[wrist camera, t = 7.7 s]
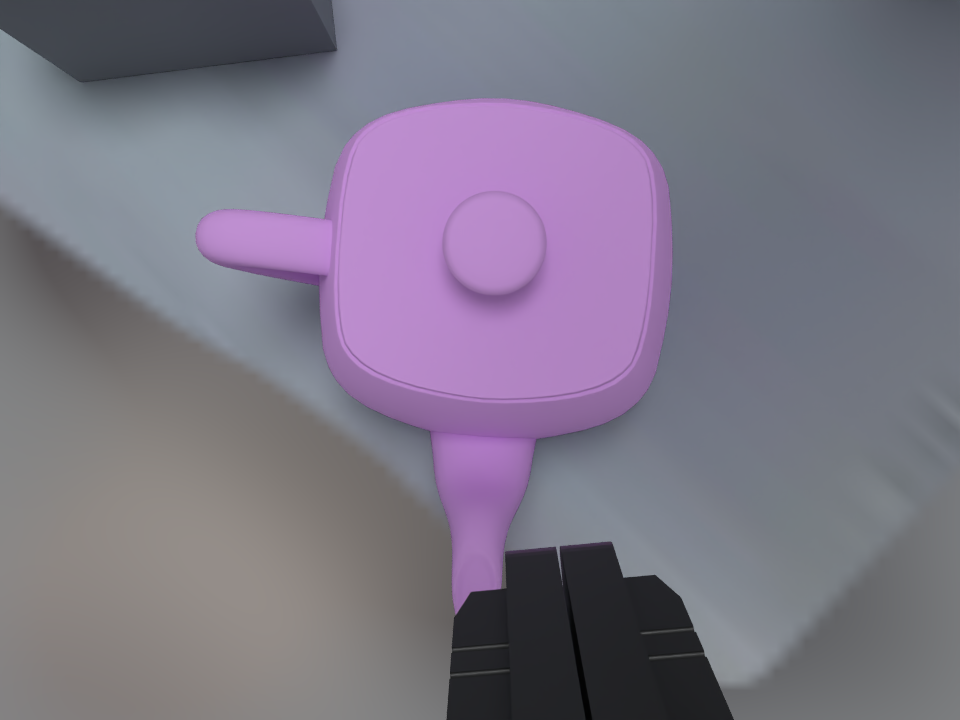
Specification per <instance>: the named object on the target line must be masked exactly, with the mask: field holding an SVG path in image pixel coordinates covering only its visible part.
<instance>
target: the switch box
mask: <svg viewBox="0 0 960 720" xmlns="http://www.w3.org/2000/svg"><path fill="white" fill-rule="evenodd" d="M0 29H1V30H3V31H4V32H6V33H7V34H9V35H10V36H12V37H13V38H15V39H16V40H18V41H19V42H21V43H22V44H24V45H25V46H27V47H28V48H30V49H31V50H33V51H34V52H36V53H38V54H39V55H41V56H42V57H44V58H45V59H47V60H48V61H50V62H51V63H53V64H54V65H56V66H57V67H59V68H60V69H62V70H63V71H65V72H66V73H68V74H69V75H71V76H72V77H74V78H75V79H77V80H78V81H80V82H86V81H94V80H102V79H110V78H118V77H126V76H134V75H142V74H150V73H158V72H166V71H174V70H182V69H190V68H198V67H206V66H214V65H222V64H230V63H238V62H246V61H254V60H262V59H270V58H278V57H286V56H294V55H302V54H310V53H318V52H326V51H334V50H337V46H336V38H335V29H334V20H333V11H332V2H331V0H0Z"/></svg>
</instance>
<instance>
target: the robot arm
mask: <svg viewBox="0 0 960 720" xmlns="http://www.w3.org/2000/svg"><path fill="white" fill-rule="evenodd" d="M560 559H561V571H562V579H561V574H560V568H559V562H558V556H557V550H556V547H549V548H538V549H527V550H517V551H506V552H505V562H506V585H507V589H496V590H485V591H474V592H470V594H469V596H468V597H467V599H466V600H465V602H464V603H463V605H462V606H461V608H460V609H459V611H458V613H457V614H456V616H455V617H454V626H453V640H452V653H451V667H450V677H451V678H450V680H449V695H448V707H447V708H448V709H447V720H734V719H733V717H732V714H731V712H730V710H729V707H728V705H727V703H726V700H725V698H724V696H723V693H722V691H721V689H720V687H719V684H718V682H717V680H716V677H715V675H714V673H713V670H712V668H711V666H710V663H709V661H708V659H707V657H705V655H704V650H703V647H702V645H701V643H700V640H699V638H698V636H697V633H696V632H694V628H693V624H692V622H691V620H690V617H689V615H688V613H687V610H686V608H685V606H684V603H683V601H682V599H681V597H680V596H679V595H678V594H676V593H675V592H674V591H673V590H672V589H671V588H670V587H668V586H667V585H666V584H665V583H664V582H663V581H661V580H660V579H659V578H658V577H657V576H656V575H649V576H638V577H627V578H623V575H622V572H621V569H620V566H619V563H618V559H617V556H616V553H615V550H614V547H613V544H612V542H601V543H590V544H579V545H568V546H560ZM562 582H563V585H562Z"/></svg>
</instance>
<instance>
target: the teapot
mask: <svg viewBox="0 0 960 720" xmlns="http://www.w3.org/2000/svg"><path fill="white" fill-rule="evenodd" d="M196 244H197V247H198V249H199V251H200V252H201V253H202V255H203V256H204V257H206V258H207V259H208V260H209V261H211V262H213V263H215V264H218V265H220V266H224V267H228V268H232V269H236V270H241V271H245V272H250V273H254V274H259V275H264V276H269V277H274V278H280V279H285V280H290V281H296V282H301V283H306V284H312V285H317V286H319V298H320V318H321V330H322V342H323V350H324V353H325V357H326V360H327V363H328V366H329V369H330V370H331V372H332V374H333V376H334V377H335V379H336V381H337V382H338V383H339V384H340V385H341V386H342V387H343V389H344V390H345V391H346V392H347V393H348V394H349V395H351V396H352V397H353V398H355V399H356V400H358V401H359V402H361V403H362V404H363V405H365V406H366V407H368V408H370V409H373V410H375V411H377V412H379V413H381V414H383V415H385V416H387V417H390V418H393V419H395V420H398V421H401V422H404V423H406V424H409V425H412V426H415V427H418V428H422V429H425V430H428V431H430V435H431V443H432V451H433V462H434V473H435V479H436V485H437V489H438V493H439V496H440V498H441V501H442V504H443V507H444V510H445V513H446V516H447V519H448V522H449V526H450V531H451V538H452V597H453V604H454V610H455V614H457V613H458V611H459V609H460V608H461V606H462V605H463V603H464V602H465V600H466V599H467V597H468V596H469V594H470V592H474V591H485V590H496V589H501V585H502V568H503V553H504V546H505V541H506V537H507V532H508V530H509V527H510V524H511V522H512V520H513V517H514V515H515V513H516V511H517V509H518V507H519V505H520V503H521V501H522V498H523V496H524V494H525V491H526V488H527V485H528V481H529V477H530V473H531V466H532V459H533V453H534V448H535V443H536V439H539V438H546V437H552V436H558V435H563V434H568V433H573V432H577V431H582V430H585V429H589V428H592V427H595V426H598V425H602V424H605V423H607V422H609V421H611V420H613V419H615V418H617V417H619V416H621V415H623V414H624V413H625V412H626V411H628V410H629V409H630V408H631V407H633V406H634V405H635V404H636V403H637V402H638V401H639V400H640V399H641V397H642V396H643V395H644V394H645V393H646V391H647V390H648V388H649V386H650V384H651V382H652V379H653V377H654V375H655V373H656V369H657V365H658V361H659V356H660V352H661V348H662V343H663V339H664V333H665V328H666V322H667V317H668V311H669V303H670V294H671V285H672V258H673V246H672V220H671V208H670V196H669V187H668V183H667V180H666V177H665V174H664V170H663V168H662V166H661V164H660V163H659V161H658V160H657V158H656V156H655V155H654V153H653V152H652V151H651V150H650V149H649V148H648V147H647V146H646V145H645V144H644V143H643V142H642V141H641V140H639V139H638V138H636V137H635V136H633V135H632V134H630V133H629V132H627V131H626V130H624V129H622V128H619V127H617V126H615V125H612V124H610V123H608V122H605V121H603V120H600V119H597V118H594V117H591V116H587V115H584V114H581V113H578V112H574V111H570V110H567V109H563V108H559V107H556V106H552V105H546V104H541V103H536V102H531V101H523V100H513V99H490V98H481V99H467V100H456V101H449V102H442V103H434V104H429V105H423V106H418V107H412V108H407V109H404V110H400V111H397V112H393V113H390V114H387V115H385V116H382V117H380V118H378V119H376V120H374V121H372V122H370V123H368V124H367V125H365V126H364V127H363V128H362V129H360V130H359V131H358V132H357V133H355V134H354V135H353V137H352V138H351V139H350V140H349V141H348V143H347V144H346V145H345V147H344V149H343V151H342V153H341V155H340V157H339V159H338V162H337V164H336V166H335V170H334V174H333V179H332V183H331V187H330V192H329V196H328V201H327V207H326V213H325V219H319V218H311V217H304V216H296V215H288V214H280V213H271V212H262V211H251V210H239V209H223V210H217V211H214V212H212V213H209V214H207V215H206V216H205V217H203V218H202V219H201V221H200V222H199V224H198V226H197V230H196Z"/></svg>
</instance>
